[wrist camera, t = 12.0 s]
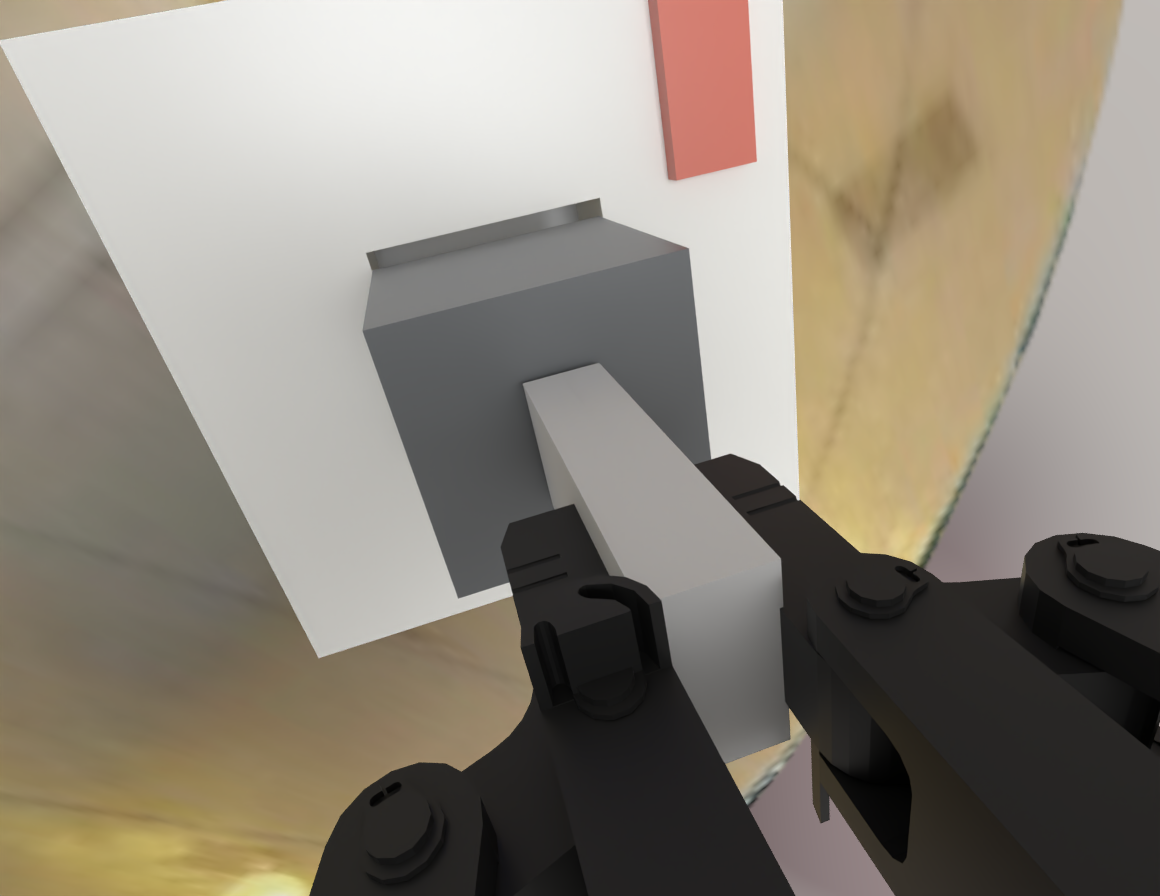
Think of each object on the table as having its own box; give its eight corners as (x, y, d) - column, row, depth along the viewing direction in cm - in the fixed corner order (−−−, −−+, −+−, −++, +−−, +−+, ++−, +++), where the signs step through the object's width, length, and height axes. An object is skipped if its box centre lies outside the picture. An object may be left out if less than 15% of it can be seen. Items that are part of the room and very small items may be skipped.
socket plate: (328, 594, 25) (317, 670, 21) (71, 59, 17) (-19, 36, 13) (754, 463, 27) (808, 511, 24) (717, -58, 19) (792, -105, 16)
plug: (433, 421, 23) (457, 598, 14) (376, 247, 20) (362, 330, 11) (596, 376, 23) (716, 516, 15) (563, 203, 21) (689, 248, 12)
